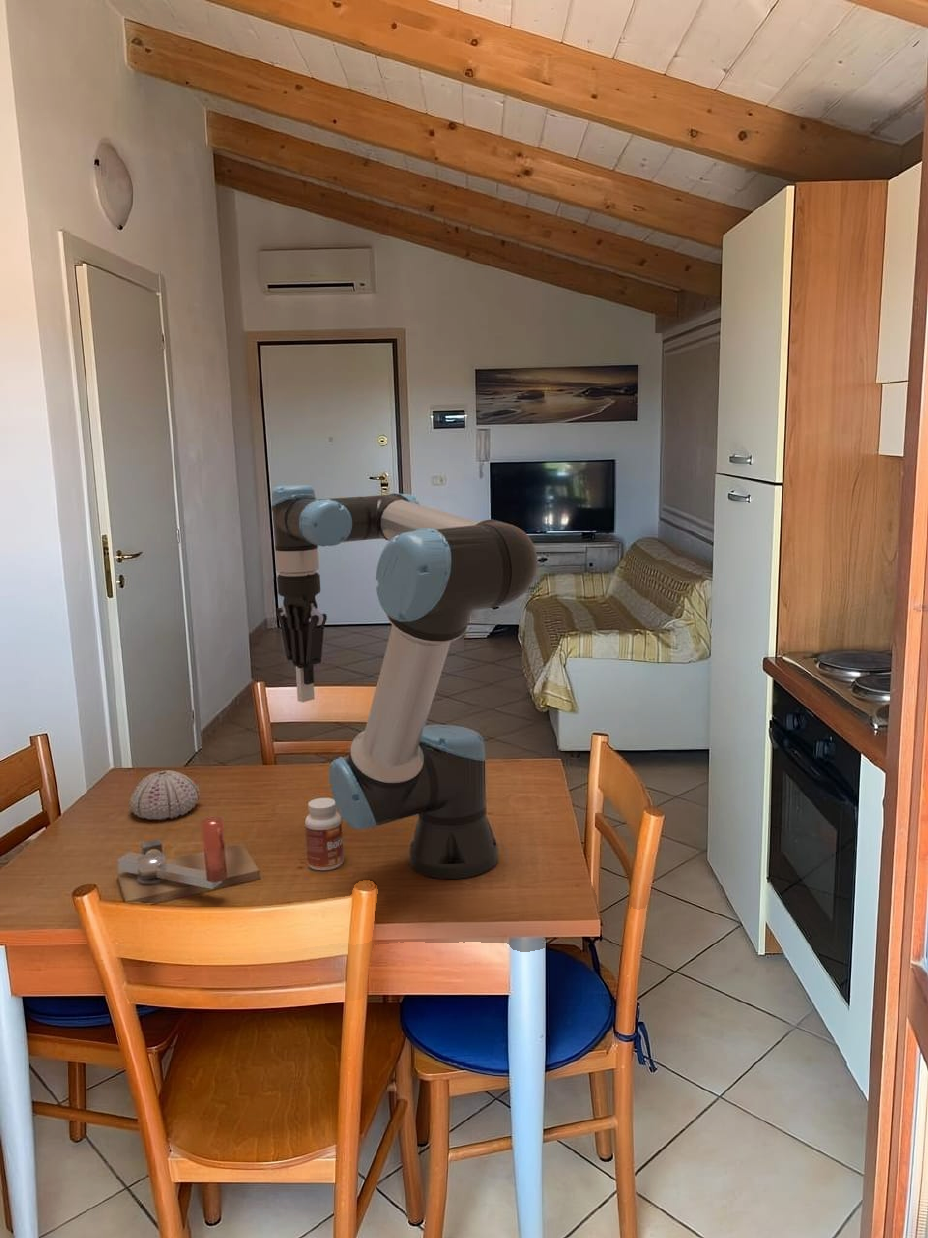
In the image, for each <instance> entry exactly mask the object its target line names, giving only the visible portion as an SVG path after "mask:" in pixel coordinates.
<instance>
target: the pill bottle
mask: <svg viewBox="0 0 928 1238" xmlns="http://www.w3.org/2000/svg"><path fill="white" fill-rule="evenodd" d="M307 806H308V808H307V809H308V813H309V814H307V816H306V818H305V821H304V822H305V823H304V827H305V842H306V843H305V844H306V855H307V856H306V861H307V865H308V867H309V868H311V869H312V870H315V871H329V870H330V871H331V870H335V869H336V868H339V867H340V866H341V865H342V864H343V863H344V860H345V859H344V841H343V839H344V837H343V823H342V822H343V821H342V820H343V819H342V816H341V815H340V813H339V811H338V812H337V809H338V808H337V806H336V804H335V801H334V798H331V797H319V798H318V797H317V798H314V799H312V800H310V801H309V802H308V804H307Z"/></svg>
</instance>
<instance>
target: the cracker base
mask: <svg viewBox="0 0 928 1238" xmlns="http://www.w3.org/2000/svg"><path fill="white" fill-rule="evenodd" d="M140 845H141V854H142V855H145V854H148V853H154V852H159V853H163V846H162V845H163V844H162V842H161V839H160V838H156V839H153V840H147V841H142V842H140ZM225 855H226V867H227V878H226V879H224V880H222V883H221V884H219V885H218V886H216V887H215V888H213V889H210V888H205V887H200V886H195V885H191V884H186V883H181V882H176V881H171V880H166V879H161V878H152V879H144V878H141V877H140V876H139V875H138V874H134V873H129V872H124V871H119V870H116V875H117V876H116V877H117V880H118V883H119V887H121V888H120V890H121V895H122V897H123V900H124V902H125V901H126V902H141V903H155V904H159V903H163V902H167V901H173V900H176V899H180V898H184V897H188V896H193V895H197V894H201V893H206V892H209V891H214V890H218V889H221V888H226V887H231V886H235V885H240V884H243V883H247V882H252V881H256V880H260V879H261V872H260V871H261V870H260V869H259V867H258V865H256V863H255V861H254V860H253V858H252V857H251V855H250V853H249V852H248V850H247V849H246V847H245V845H244V844H243V843H239V844H234V845H229V846H225ZM166 863H168V864H173V865H178V866H183V867H188V868H193V869H198V870H203V871H206V869H205V858H204V851H202V852H197V853H192V854H186V855H183V856H177V857H174V858H170V859H169V858H168V859H166Z"/></svg>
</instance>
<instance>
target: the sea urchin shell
mask: <svg viewBox="0 0 928 1238" xmlns="http://www.w3.org/2000/svg"><path fill="white" fill-rule="evenodd" d="M135 787H136V788H135V789H134V791H133V793H132V795H131V796H130V798H129V803H128V804H129V808H130V810H131V813H133V814H134V816H137V818H141V819H147V820H153V821H155V820H159V821H162V820H167V819H174V818H177V817H178V816H184V815H185V814H188V812H190V811H192V809H193V808H196V804H198V803H199V802H198V801H199V800H200V799H201V797H200V796H201V793H200V792H201V790H200V789H199V786H197V783H195V782H194V780H192V779H191V777H188V776H187V775H186V774H183V773H181V772H178V771H177V770H176V771H175V770H168V769H167V770H161V771H156V772H152V773H149V774H148V775H147V776H145V777H144V778H142V780H141V781H140V782H139V783H138V785H136V786H135Z"/></svg>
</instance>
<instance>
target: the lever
mask: <svg viewBox="0 0 928 1238" xmlns="http://www.w3.org/2000/svg"><path fill="white" fill-rule="evenodd" d="M223 821H224V820H223V818H222V817H220V816H209V817H206V818H203V819H202V820H201V834H202V844H203V852H204V858H205V869H206V871H203V870H198V869H193V868H188V867H183V866H178V865H173V864H168V863H166V860H167V858H166V857H167V856H166V854H165V853H163V852H162V853H159V852H154V853H148V854H145V855H142V853H136V852H132V851H131V852H130V851H129V852H127V853H126V854H124V855H121V857H119V858H117V860H116V861H117V867H118V868H117V869H118V870H119V871H124V872H129V873H134V874H138V875H139V876H140V877H141V878H144V879H152V878H161V879H166V880H171V881H176V882H181V883H186V884H191V885H195V886H200V887H205V888H210V889H213V888H215V887H216V886H218V885H219V884H221V883H222V880H224V879H226V878H227V867H226V855H225V847H226V844H225V833H224V822H223ZM118 870H117V871H118Z"/></svg>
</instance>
